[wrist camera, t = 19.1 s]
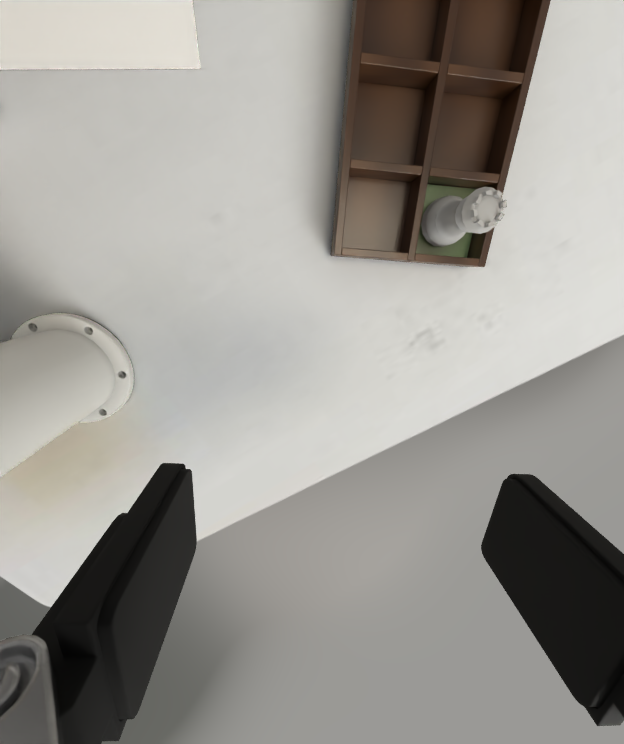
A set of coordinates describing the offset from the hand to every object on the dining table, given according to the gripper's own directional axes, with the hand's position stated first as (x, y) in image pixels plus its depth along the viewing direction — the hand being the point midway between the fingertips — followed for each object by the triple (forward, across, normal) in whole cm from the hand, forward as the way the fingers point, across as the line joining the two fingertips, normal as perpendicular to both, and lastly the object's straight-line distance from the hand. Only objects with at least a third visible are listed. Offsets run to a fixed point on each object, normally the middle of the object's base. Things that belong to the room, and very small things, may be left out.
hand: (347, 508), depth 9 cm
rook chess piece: (+26, -12, -12) cm, 31 cm away
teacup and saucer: (+26, +22, -31) cm, 46 cm away
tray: (+26, -9, -19) cm, 34 cm away
